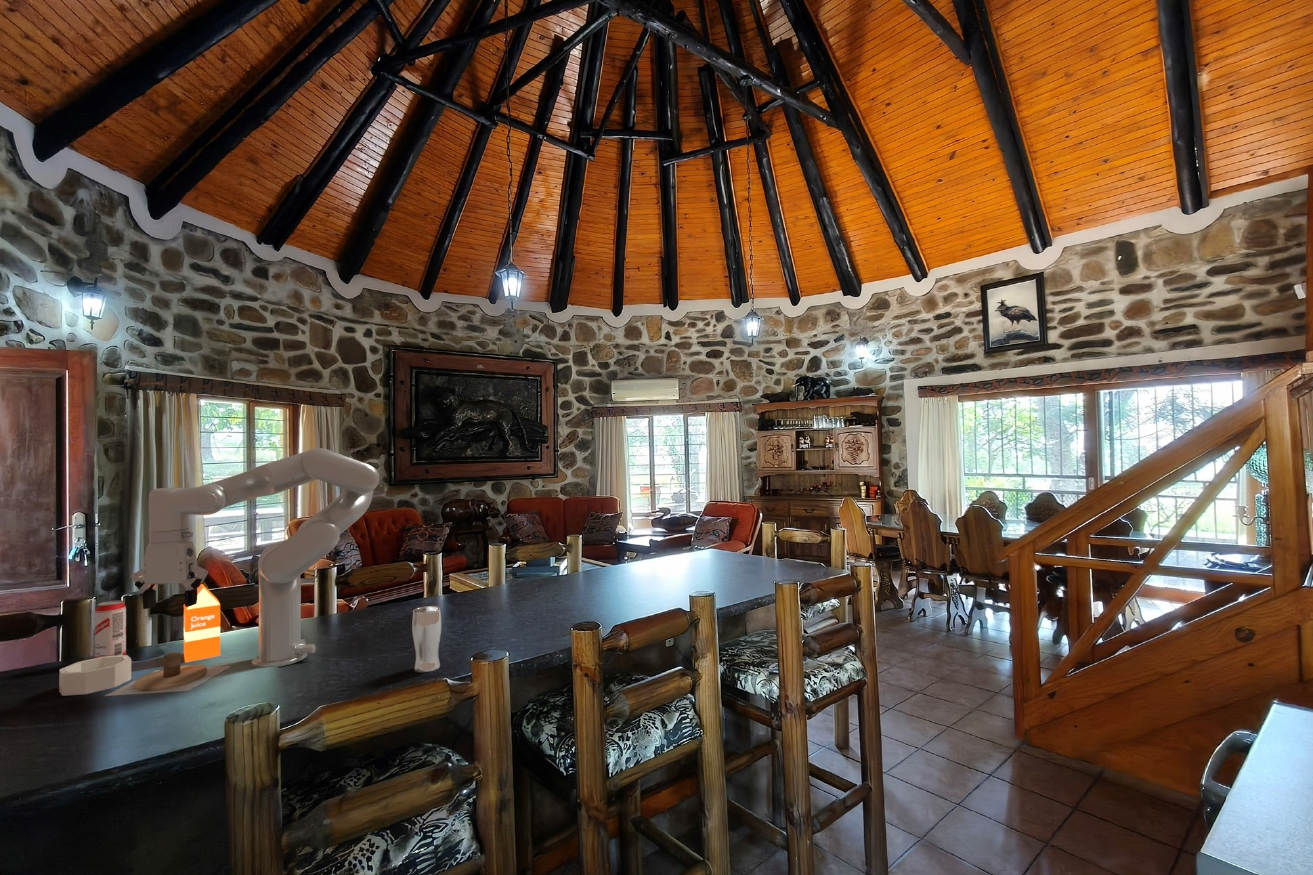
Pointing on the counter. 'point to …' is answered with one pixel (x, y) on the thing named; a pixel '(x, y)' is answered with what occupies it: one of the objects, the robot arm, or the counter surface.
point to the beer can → (110, 629)
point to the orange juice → (202, 627)
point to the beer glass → (426, 637)
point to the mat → (131, 688)
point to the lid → (170, 675)
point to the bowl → (94, 675)
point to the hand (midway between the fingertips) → (170, 606)
